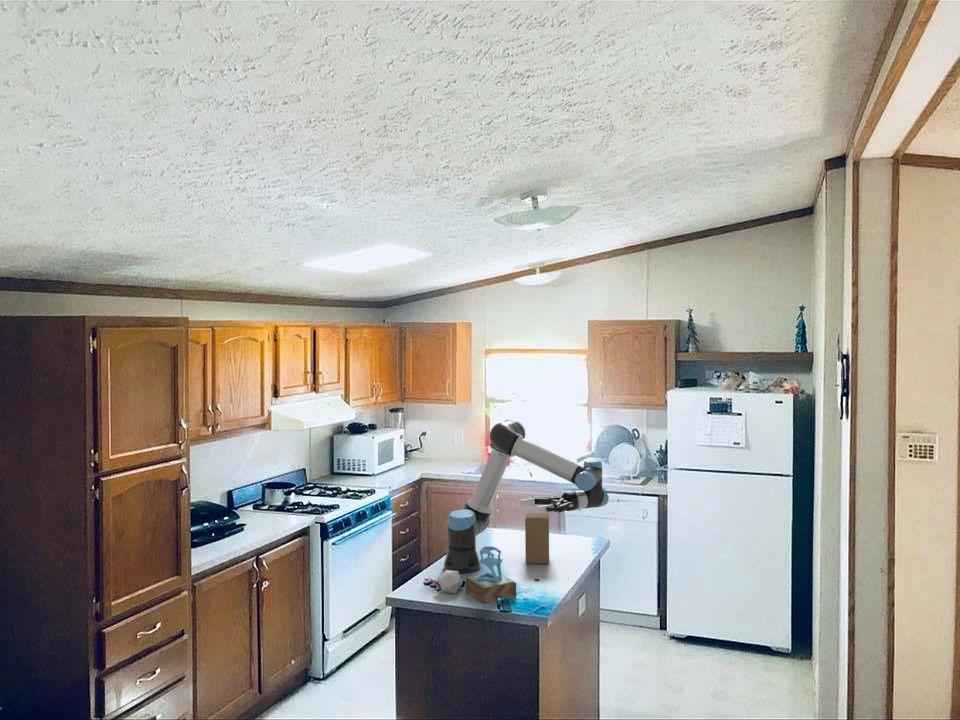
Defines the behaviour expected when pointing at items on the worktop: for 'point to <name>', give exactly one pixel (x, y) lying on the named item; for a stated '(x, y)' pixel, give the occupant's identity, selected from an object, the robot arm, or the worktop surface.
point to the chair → (490, 564)
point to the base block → (490, 588)
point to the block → (537, 538)
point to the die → (450, 581)
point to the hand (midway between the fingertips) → (529, 506)
